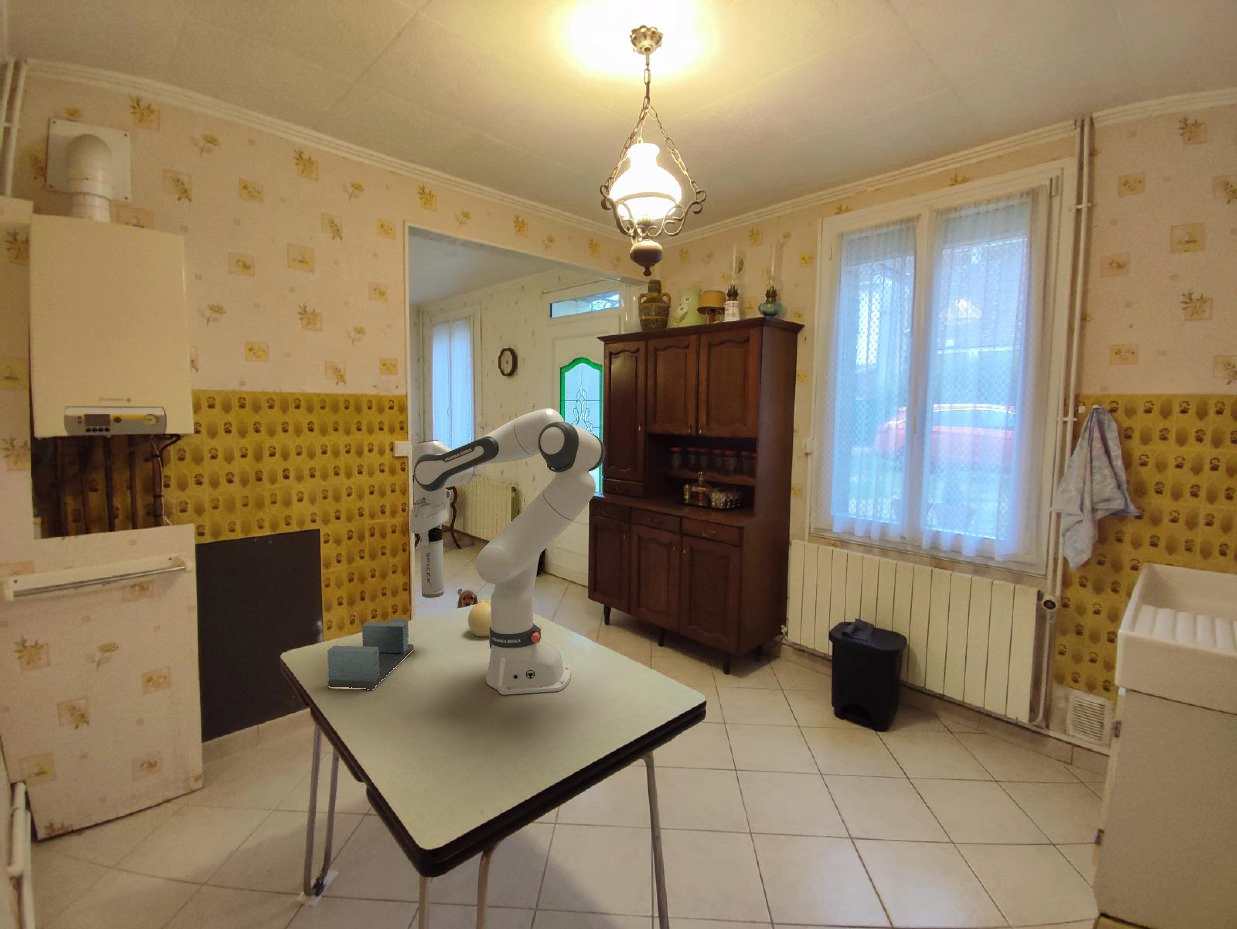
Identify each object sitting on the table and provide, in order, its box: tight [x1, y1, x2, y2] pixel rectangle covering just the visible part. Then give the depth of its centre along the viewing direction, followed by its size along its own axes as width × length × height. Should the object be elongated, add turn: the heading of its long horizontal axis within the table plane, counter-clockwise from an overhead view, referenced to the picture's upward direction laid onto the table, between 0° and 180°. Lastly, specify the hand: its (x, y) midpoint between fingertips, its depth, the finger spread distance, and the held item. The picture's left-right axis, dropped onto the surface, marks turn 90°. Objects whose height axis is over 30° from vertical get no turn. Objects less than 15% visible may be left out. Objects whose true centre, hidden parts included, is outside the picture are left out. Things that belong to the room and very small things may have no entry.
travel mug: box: [419, 528, 445, 599], centre depth 165 cm, size 6×7×20 cm
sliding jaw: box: [361, 618, 410, 653], centre depth 165 cm, size 11×12×8 cm
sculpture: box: [467, 598, 491, 637], centre depth 180 cm, size 11×12×11 cm
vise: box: [326, 643, 415, 690], centre depth 154 cm, size 24×12×10 cm, turn 176°
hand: (431, 542), depth 164 cm, fingers closed on travel mug, 6 cm apart
